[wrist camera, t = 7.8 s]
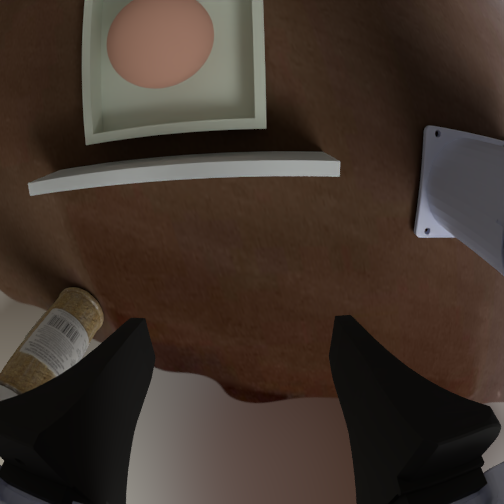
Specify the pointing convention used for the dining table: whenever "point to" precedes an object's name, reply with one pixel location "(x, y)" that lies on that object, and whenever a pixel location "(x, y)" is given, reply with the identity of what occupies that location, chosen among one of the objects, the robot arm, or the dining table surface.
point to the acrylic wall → (189, 169)
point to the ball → (160, 41)
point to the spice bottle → (52, 343)
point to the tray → (185, 93)
